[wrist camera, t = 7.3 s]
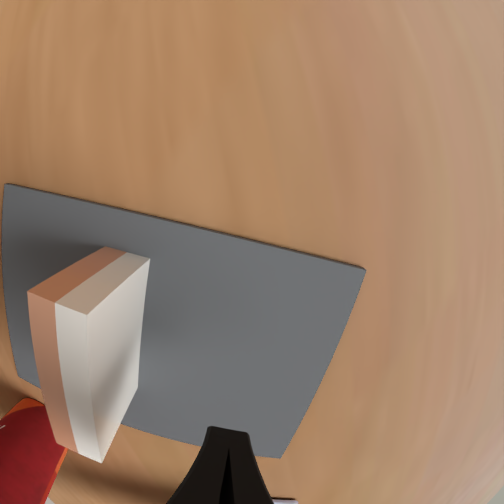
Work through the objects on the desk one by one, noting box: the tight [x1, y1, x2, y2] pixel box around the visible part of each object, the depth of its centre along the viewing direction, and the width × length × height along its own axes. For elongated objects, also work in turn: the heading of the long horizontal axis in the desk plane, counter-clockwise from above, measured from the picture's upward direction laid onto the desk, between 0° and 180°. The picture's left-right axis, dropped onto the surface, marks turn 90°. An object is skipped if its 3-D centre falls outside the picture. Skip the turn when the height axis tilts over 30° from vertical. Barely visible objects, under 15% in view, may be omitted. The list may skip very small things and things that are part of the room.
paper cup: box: [0, 398, 68, 504], centre depth 11 cm, size 8×8×14 cm
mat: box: [2, 183, 366, 458], centre depth 15 cm, size 14×20×1 cm
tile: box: [27, 246, 150, 463], centre depth 11 cm, size 8×2×6 cm, turn 166°
